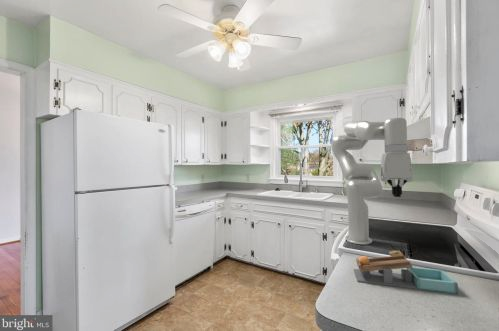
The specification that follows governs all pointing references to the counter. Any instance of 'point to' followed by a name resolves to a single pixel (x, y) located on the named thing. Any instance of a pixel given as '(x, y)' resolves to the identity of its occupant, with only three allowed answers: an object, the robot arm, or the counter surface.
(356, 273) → the lever stand
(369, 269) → the seesaw lever
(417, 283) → the dish
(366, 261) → the ball
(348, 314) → the counter surface
